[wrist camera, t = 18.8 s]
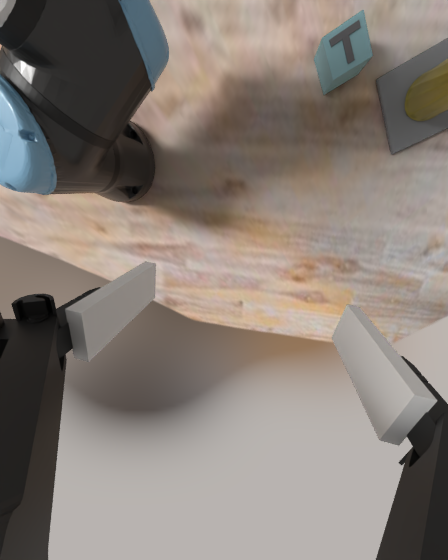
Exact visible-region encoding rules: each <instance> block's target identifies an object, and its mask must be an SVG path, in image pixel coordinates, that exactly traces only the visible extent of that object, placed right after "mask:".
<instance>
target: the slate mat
mask: <svg viewBox="0 0 448 560" xmlns="http://www.w3.org/2000/svg"><path fill="white" fill-rule="evenodd" d="M446 59H448V38H447V39H445V40H443V41H441V42H440V43H438V44H436V45H435V46H433V47H431V48H429V49H428V50H426V51H424V52H423V53H421V54H419V55H417V56H416V57H414V58H412V59H411V60H409V61H407V62H405V63H404V64H402V65H400V66H398V67H397V68H395V69H393V70H392V71H390V72H388V73H386V74H385V75H383V76H381V77H380V78H378V79H377V80H376V83H377V88H378V93H379V98H380V103H381V108H382V113H383V118H384V122H385V127H386V132H387V137H388V142H389V147H390V152H391V154H394V153H396V152H398V151H400V150H402V149H404V148H407V147H409V146H411V145H413V144H415V143H417V142H419V141H421V140H424V139H426V138H428V137H430V136H432V135H434V134H436V133H438V132H441V131H443V130H445V129H447V128H448V110H446V111H444V112H442V113H440V114H438V115H437V116H435V117H433V118H431V119H429V120H425V121H415V120H413V119H411V118H410V117H409V116H408V115H407V114H406V111H405V98H406V95H407V92H408V90H409V88H410V87H411V85H412V84H413V83H414V81H415V80H416V79H417V78H418V77H419V76H421V75H422V74H424V73H425V72H427V71H429V70H431V69H433V68H435V67H436V66H438V65H439V64H440V63H442V62H443V61H445V60H446Z"/></svg>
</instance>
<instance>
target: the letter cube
mask: <svg viewBox="0 0 448 560" xmlns="http://www.w3.org/2000/svg"><path fill="white" fill-rule="evenodd" d="M372 56H373V54H372V49H371V44H370V39H369V35H368V30H367V25H366V20H365V15H364V10H362V11H360V12H359V13H357V14H356V15H355V16H353V17H352V18H350V19H349V20H347V21H346V22H344V23H343V24H341V25H340V26H339V27H337V28H336V29H334V30H333V31H331V32H330V33H328V34H327V35H325V36H324V37H323V38H322V39H321V42H320V45H319V47H318V50H317V53H316V55H315V58H314V61H315V65H316V69H317V72H318V76H319V80H320V83H321V87H322V91H323V94H324V95H325V94H326V93H328V92H330V91H331V90H333V89H335V88H336V87H338V86H340V85H341V84H343V83H345V82H346V81H348V80H350V79H351V78H353V77H355V76H356V75H358V74H359V72H360V71H361V70H362V69H363V67H364V66H365V65H366V64H367V62H368V61H369V60H370V59H371V57H372Z"/></svg>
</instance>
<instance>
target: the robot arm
mask: <svg viewBox="0 0 448 560" xmlns="http://www.w3.org/2000/svg"><path fill="white" fill-rule="evenodd" d="M0 44H1V45H2V48H1V50H0V184H1V185H2V186H4V187H6V188H9V189H11V190H14V191H18V192H27V193H37V194H42V195H48V194H70V193H96V194H98V195H101V196H103V197H105V198H107V199H110V200H113V201H118V202H127V201H134V200H137V199H139V198H140V197H142V196H143V195H144V194H145V193H146V192H147V191H148V190H149V188H150V186H151V184H152V181H153V178H154V172H155V162H154V156H153V152H152V149H151V146H150V144H149V142H148V140H147V138H146V137H145V135H144V134H143V132H142V131H141V130H140V129H139V128H138V127H137V126H136V125H135V124H133V123H132V122H130V120H131V118H132V117H133V115H134V114H135V112H136V111H137V109H138V108H139V107H140V105H141V104H142V102H143V101H144V99H145V98H146V96H147V95H148V93H149V92H150V91H153V90H154V88H155V83H156V81H157V80H158V78H159V76H160V75H161V73H162V72H163V70H164V68H165V67H166V65H167V62H168V58H169V48H168V43H167V39H166V36H165V33H164V31H163V28H162V26H161V24H160V22H159V20H158V17H157V15H156V13H155V11H154V9H153V7H152V5H151V3H150V1H149V0H0ZM155 276H156V264H155V263H150V262H144V263H142V264H140V265H139V266H137V267H135V268H134V269H132V270H130V271H129V272H127V273H125V274H124V275H122V276H120V277H118V278H117V279H115V280H113V281H112V282H110V283H108V284H107V285H105V286H103V287H102V288H100V287H99V288H95V289H92V290H89V291H87V292H85V293H84V294H82V295H81V296H78V297H77V298H75V299H73V300H71V301H70V302H68V303H66V304H64V305H62V306H61V307H59V308H57V309H56V307H55V303H54V298H53V297H52V296H51V295H48V294H33V295H28V296H24V297H21V298H19V299H17V300H15V301H14V302H13V303H12V307H13V311H14V314H15V317H16V319H3V318H2V316H1V313H0V560H48V542H49V532H50V522H51V512H52V502H53V492H54V481H55V471H56V461H57V451H58V440H59V431H60V420H61V411H62V400H63V390H64V380H65V370H66V355H65V354H66V353H67V352H69V351H70V350H71V349H73V354H74V358H76V359H80V360H83V361H87V362H89V361H90V360H91V359H92V358H93V357H94V356H96V354H98V353H99V352H100V350H102V349H103V348H104V347H105V346H106V345H107V344H108V343H109V342H110V341H111V340H112V339H113V338H114V337H115V336H116V335H117V334H118V333H119V332H120V331H121V330H122V329H123V328H124V327H125V326H126V325H127V324H128V323H129V322H130V321H131V320H132V319H133V318H134V317H136V316H137V314H139V313H140V312H141V311H142V310H143V309H144V308H145V307H146V306H147V305H148V304H149V303H150V302H151V301H152V300H153V299H154V298H155ZM332 340H333V342H334V344H335V346H336V348H337V350H338V353H339V355H340V357H341V359H342V361H343V363H344V365H345V367H346V370H347V372H348V374H349V376H350V378H351V380H352V383H353V385H354V387H355V389H356V391H357V393H358V395H359V398H360V400H361V402H362V404H363V406H364V408H365V410H366V412H367V415H368V417H369V419H370V421H371V423H372V425H373V427H374V430H375V431H376V434H377V436H378V438H379V440H381V441H384V442H388V443H392V444H395V445H400V444H401V443H402V441H403V440H404V439H405V438H406V437H408V439H409V440H410V442H411V444H412V445H413V447H412V449H411V450H410V451H409V452H408V453H407V454H406V455H405V456H404V457H403V458H402V460H401V461H400V462H399V463H400V464H401V465H403V464H404V463H405V464H404V468H403V471H402V474H401V478H400V481H399V484H398V488H397V491H396V495H395V498H394V501H393V504H392V508H391V511H390V514H389V518H388V521H387V524H386V528H385V531H384V534H383V538H382V542H381V544H380V548H379V551H378V554H377V558H376V560H448V404H447V403H446V402H445V400H444V399H443V398H442V397H441V396H440V395H439V394H438V392H437V391H436V390H435V389H434V388H433V387H432V386H431V384H429V383H428V381H427V380H426V379H425V377H424V376H422V375H421V373H420V372H419V371H418V369H417V368H416V367H415V366H414V365H413V364H412V363H410V362H409V361H408V360H407V359H405V358H404V357H403V356H400V355H399V354H398V353H397V351H396V350H395V349H394V348H393V347H392V345H391V344H390V343H389V342H388V341H387V339H386V338H385V337H384V336H383V335H382V333H381V332H380V331H379V330H378V329H377V327H376V326H375V325H374V324H373V323H372V322H371V320H370V319H369V318H368V317H367V316H366V314H365V313H364V312H363V311H362V310H361V308H360V307H357V306H353V305H348V304H347V306H346V308H345V310H344V312H343V314H342V316H341V319H340V321H339V323H338V325H337V327H336V329H335V332H334V334H333V336H332Z"/></svg>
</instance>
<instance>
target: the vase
mask: <svg viewBox="0 0 448 560" xmlns="http://www.w3.org/2000/svg"><path fill="white" fill-rule="evenodd" d="M446 110H448V59H446V60H445V61H443V62H442V63H440V64H439V65H438V66H436V67H435V68H433V69H431V70H429V71H427V72H425V73H424V74H422V75H421V76H419V77H418V78H417V79H416V80H415V81H414V83H413V84H412V85H411V87H410V88H409V90H408V92H407V95H406V98H405V111H406V114H407V115H408V116H409V117H410V118H411V119H413V120H415V121H425V120H429V119H431V118H433V117H435V116H437V115H438V114H440V113H442V112H444V111H446Z"/></svg>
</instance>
